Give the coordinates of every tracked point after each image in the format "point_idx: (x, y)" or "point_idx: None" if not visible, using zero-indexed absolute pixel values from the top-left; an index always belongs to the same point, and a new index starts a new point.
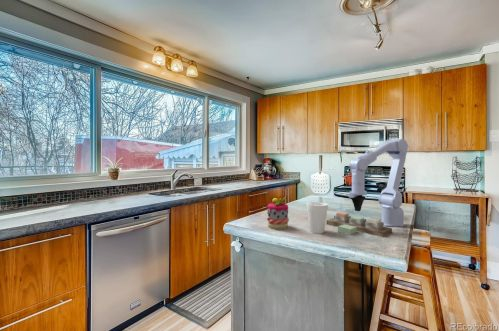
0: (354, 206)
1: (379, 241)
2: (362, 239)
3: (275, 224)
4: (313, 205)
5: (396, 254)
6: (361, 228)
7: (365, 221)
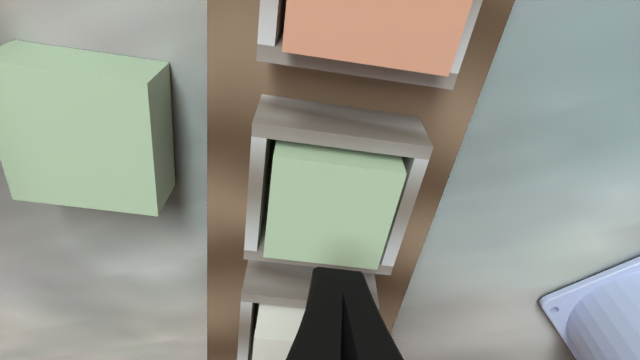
0: (301, 325)
1: (98, 334)
2: (31, 263)
3: None
4: None
5: None
6: (210, 232)
7: None
